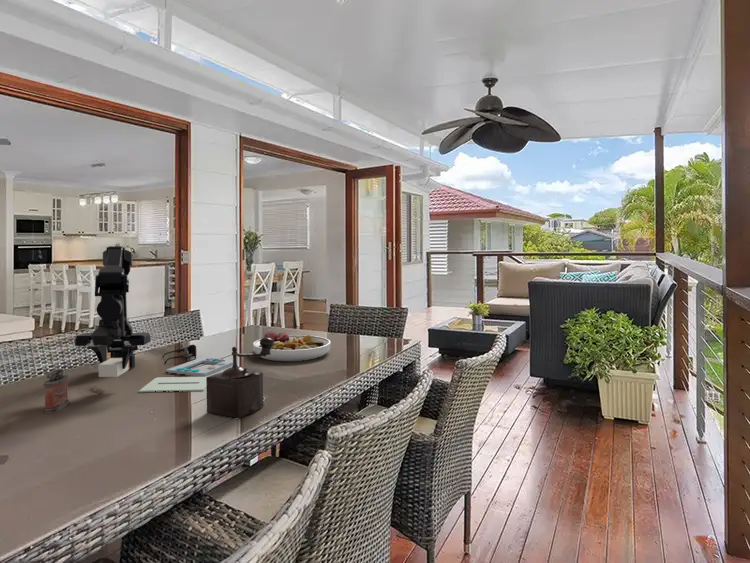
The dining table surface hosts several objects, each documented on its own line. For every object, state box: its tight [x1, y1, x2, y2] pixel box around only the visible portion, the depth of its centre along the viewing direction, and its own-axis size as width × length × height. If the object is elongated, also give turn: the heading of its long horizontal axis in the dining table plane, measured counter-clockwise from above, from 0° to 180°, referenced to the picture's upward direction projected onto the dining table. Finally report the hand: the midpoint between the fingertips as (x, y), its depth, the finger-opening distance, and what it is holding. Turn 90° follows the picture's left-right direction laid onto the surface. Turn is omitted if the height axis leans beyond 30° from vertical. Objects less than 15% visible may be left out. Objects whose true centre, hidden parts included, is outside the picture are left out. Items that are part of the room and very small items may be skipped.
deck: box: [97, 357, 130, 378], centre depth 139 cm, size 5×8×4 cm, turn 5°
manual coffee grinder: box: [206, 336, 274, 419], centre depth 127 cm, size 16×11×18 cm
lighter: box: [42, 368, 70, 414], centre depth 126 cm, size 8×3×10 cm, turn 5°
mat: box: [138, 376, 208, 393], centre depth 147 cm, size 18×14×1 cm
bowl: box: [252, 331, 331, 362], centre depth 191 cm, size 30×30×8 cm
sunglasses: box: [161, 344, 197, 363], centre depth 180 cm, size 11×12×5 cm
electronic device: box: [165, 357, 233, 377], centre depth 167 cm, size 18×2×15 cm
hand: (114, 368), depth 139 cm, fingers closed on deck, 5 cm apart
